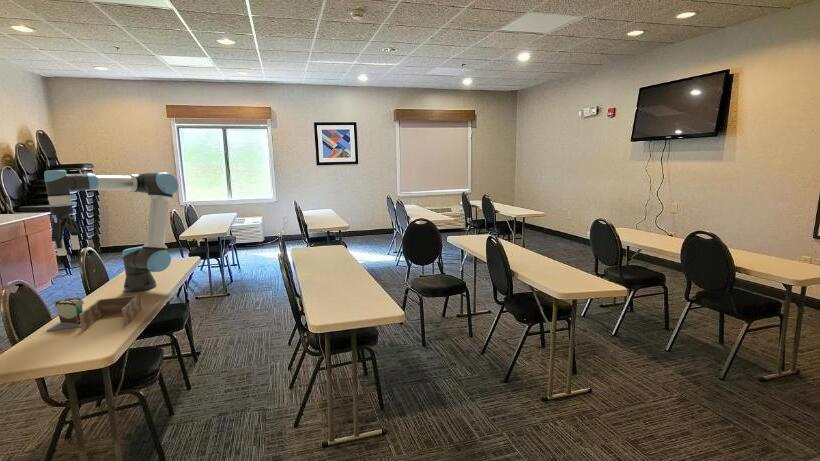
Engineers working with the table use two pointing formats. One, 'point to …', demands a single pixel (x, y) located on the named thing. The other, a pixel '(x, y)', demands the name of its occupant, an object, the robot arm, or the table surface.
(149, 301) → the table surface
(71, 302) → the food container
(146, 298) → the table surface
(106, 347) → the table surface
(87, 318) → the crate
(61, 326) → the pad
